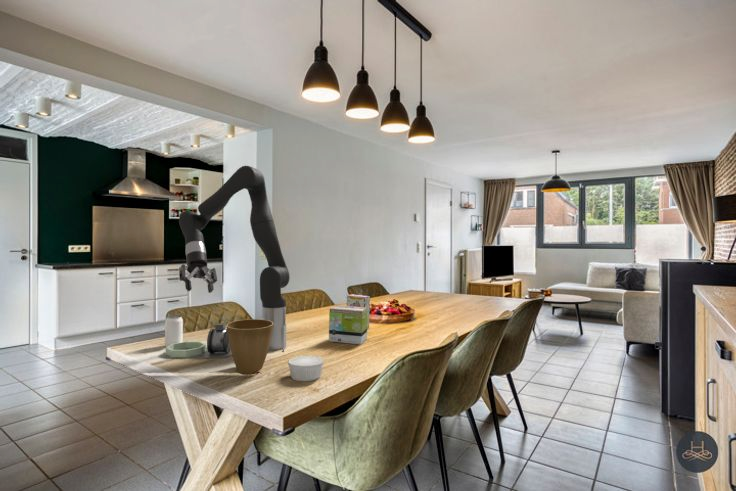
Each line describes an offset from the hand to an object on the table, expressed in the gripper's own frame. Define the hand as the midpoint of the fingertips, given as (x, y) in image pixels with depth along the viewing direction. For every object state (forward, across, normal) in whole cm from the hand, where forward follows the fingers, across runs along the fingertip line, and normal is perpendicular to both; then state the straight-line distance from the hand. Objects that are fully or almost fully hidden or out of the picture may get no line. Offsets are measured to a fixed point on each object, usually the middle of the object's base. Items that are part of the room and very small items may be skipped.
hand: (200, 291), depth 154 cm
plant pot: (+38, +4, -18) cm, 42 cm away
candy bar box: (+18, +78, -6) cm, 80 cm away
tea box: (+28, +56, -17) cm, 65 cm away
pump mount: (+23, +1, +8) cm, 24 cm away
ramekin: (+45, +14, -33) cm, 58 cm away
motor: (+24, +6, +2) cm, 25 cm away
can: (+13, 0, +25) cm, 28 cm away
